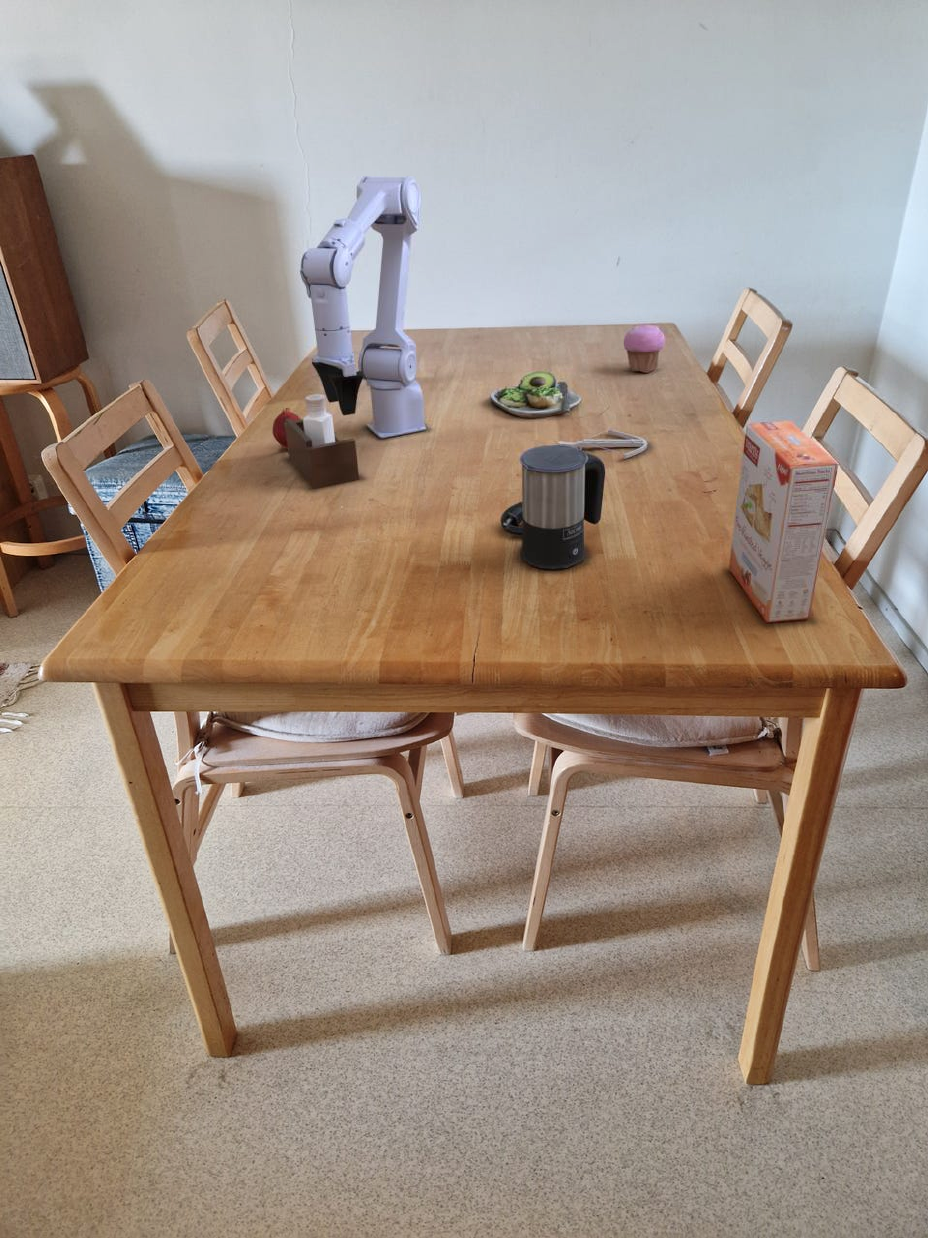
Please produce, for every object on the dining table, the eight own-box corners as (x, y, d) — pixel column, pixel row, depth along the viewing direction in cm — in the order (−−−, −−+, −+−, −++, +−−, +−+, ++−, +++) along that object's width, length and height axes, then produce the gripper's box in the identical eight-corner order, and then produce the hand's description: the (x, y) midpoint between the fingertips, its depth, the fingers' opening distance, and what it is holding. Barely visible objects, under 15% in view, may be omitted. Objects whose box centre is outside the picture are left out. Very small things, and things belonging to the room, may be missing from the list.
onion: (300, 455, 163) (294, 413, 159) (270, 454, 164) (264, 412, 160) (311, 444, 168) (305, 402, 164) (282, 443, 169) (276, 401, 165)
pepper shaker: (337, 447, 156) (330, 393, 151) (326, 455, 153) (320, 401, 148) (316, 445, 158) (309, 392, 152) (306, 453, 154) (298, 399, 149)
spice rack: (331, 451, 164) (326, 409, 160) (359, 479, 153) (354, 434, 149) (289, 459, 162) (283, 417, 157) (314, 488, 150) (308, 443, 146)
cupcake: (668, 368, 200) (672, 322, 195) (653, 378, 194) (657, 331, 189) (631, 363, 204) (634, 318, 199) (615, 373, 198) (618, 327, 193)
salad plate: (603, 412, 177) (604, 389, 174) (522, 427, 171) (522, 404, 169) (557, 386, 192) (557, 364, 190) (481, 399, 186) (480, 377, 184)
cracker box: (724, 570, 121) (744, 421, 110) (768, 566, 122) (792, 418, 110) (763, 625, 109) (789, 464, 98) (811, 621, 110) (842, 460, 99)
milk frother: (566, 577, 121) (569, 475, 113) (467, 551, 129) (464, 454, 121) (610, 535, 131) (615, 439, 124) (516, 514, 139) (515, 421, 131)
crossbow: (637, 437, 167) (638, 426, 166) (654, 463, 156) (655, 451, 155) (552, 437, 165) (553, 426, 164) (563, 463, 155) (564, 451, 154)
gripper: (296, 320, 150) (306, 399, 158) (322, 340, 139) (332, 424, 146) (336, 314, 153) (345, 392, 160) (364, 333, 142) (372, 416, 149)
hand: (341, 407), depth 153 cm, fingers open, 7 cm apart
